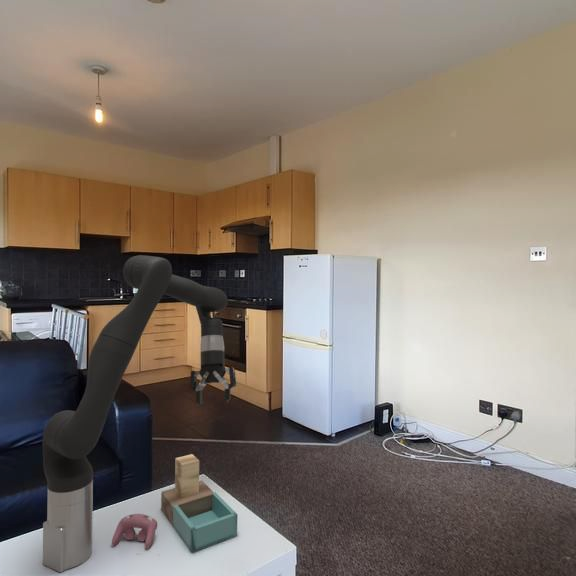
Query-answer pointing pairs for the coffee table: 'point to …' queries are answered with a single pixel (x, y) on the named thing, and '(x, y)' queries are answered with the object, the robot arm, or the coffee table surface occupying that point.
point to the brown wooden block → (187, 502)
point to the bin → (206, 525)
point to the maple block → (187, 475)
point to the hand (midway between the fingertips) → (213, 403)
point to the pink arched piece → (136, 521)
